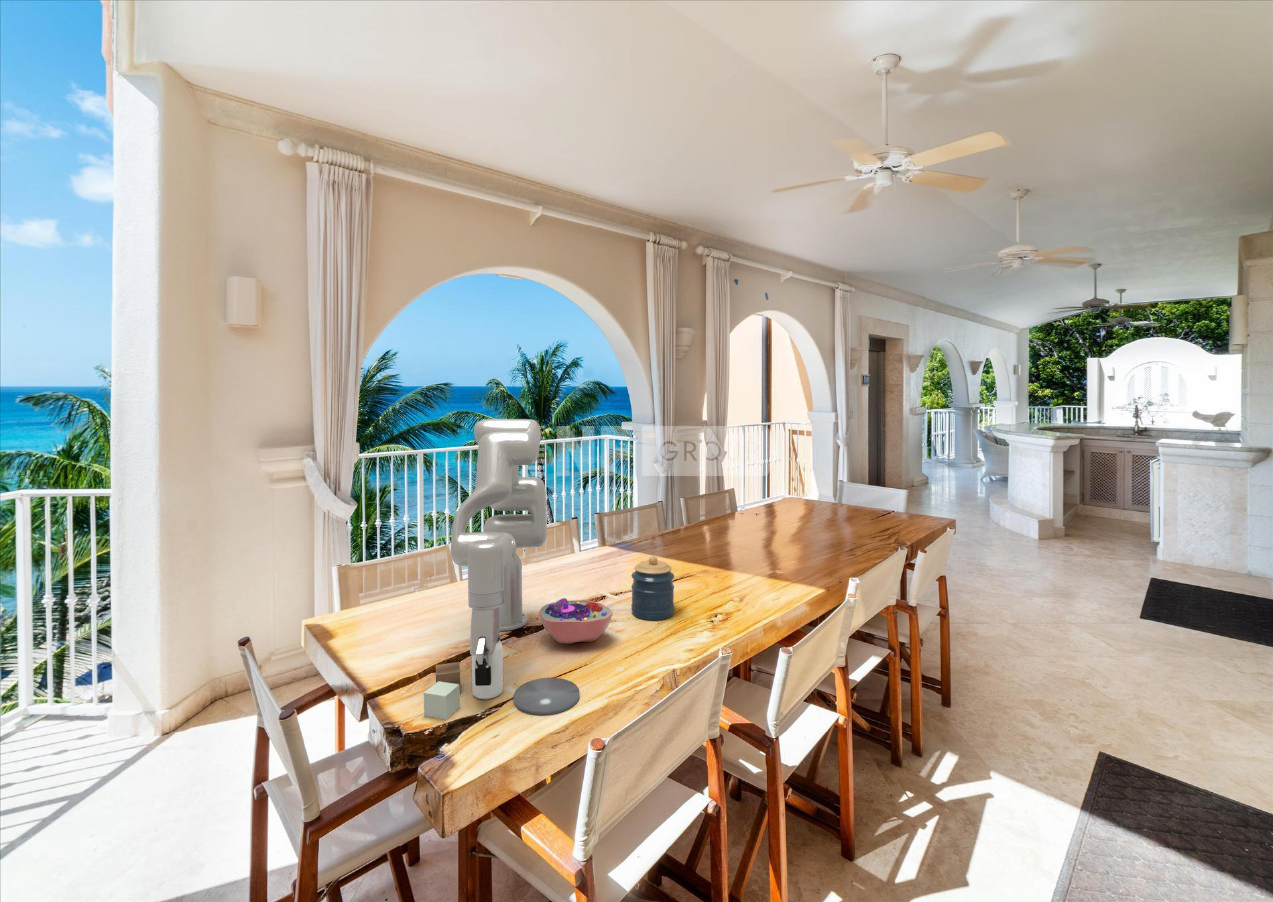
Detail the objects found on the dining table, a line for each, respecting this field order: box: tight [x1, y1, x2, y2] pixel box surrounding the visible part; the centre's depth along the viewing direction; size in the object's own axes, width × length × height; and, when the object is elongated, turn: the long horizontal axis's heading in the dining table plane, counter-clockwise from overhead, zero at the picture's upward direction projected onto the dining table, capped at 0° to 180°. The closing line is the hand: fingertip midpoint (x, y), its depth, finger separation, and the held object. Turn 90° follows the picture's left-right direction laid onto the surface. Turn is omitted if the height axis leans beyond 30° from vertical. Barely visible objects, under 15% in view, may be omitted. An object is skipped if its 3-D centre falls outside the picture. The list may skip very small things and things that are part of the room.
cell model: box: [538, 597, 614, 644], centre depth 151 cm, size 17×20×11 cm
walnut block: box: [435, 661, 462, 694], centre depth 125 cm, size 5×5×5 cm
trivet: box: [513, 677, 580, 716], centre depth 122 cm, size 14×14×1 cm
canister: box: [630, 555, 675, 621], centre depth 171 cm, size 13×13×18 cm
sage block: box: [423, 681, 461, 721], centre depth 116 cm, size 5×5×5 cm
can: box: [471, 636, 504, 701], centre depth 124 cm, size 6×6×12 cm
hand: (487, 674), depth 123 cm, fingers open, 9 cm apart
